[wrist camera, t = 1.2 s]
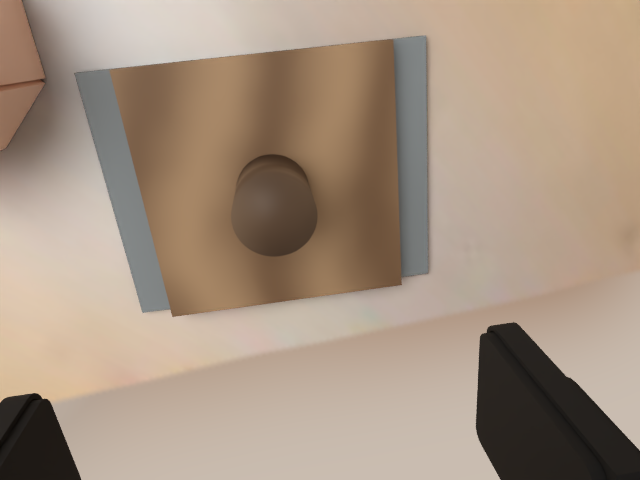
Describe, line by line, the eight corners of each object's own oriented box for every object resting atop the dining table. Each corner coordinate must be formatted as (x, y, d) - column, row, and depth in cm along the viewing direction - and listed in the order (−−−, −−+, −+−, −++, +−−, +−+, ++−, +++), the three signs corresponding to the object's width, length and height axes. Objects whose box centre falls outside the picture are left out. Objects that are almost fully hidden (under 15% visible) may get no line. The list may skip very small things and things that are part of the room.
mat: (423, 35, 25) (426, 35, 25) (426, 270, 31) (428, 273, 30) (77, 72, 24) (74, 73, 24) (144, 309, 30) (142, 312, 29)
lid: (388, 39, 25) (419, 38, 20) (397, 277, 30) (423, 323, 25) (115, 68, 24) (75, 75, 19) (175, 308, 29) (157, 362, 24)
